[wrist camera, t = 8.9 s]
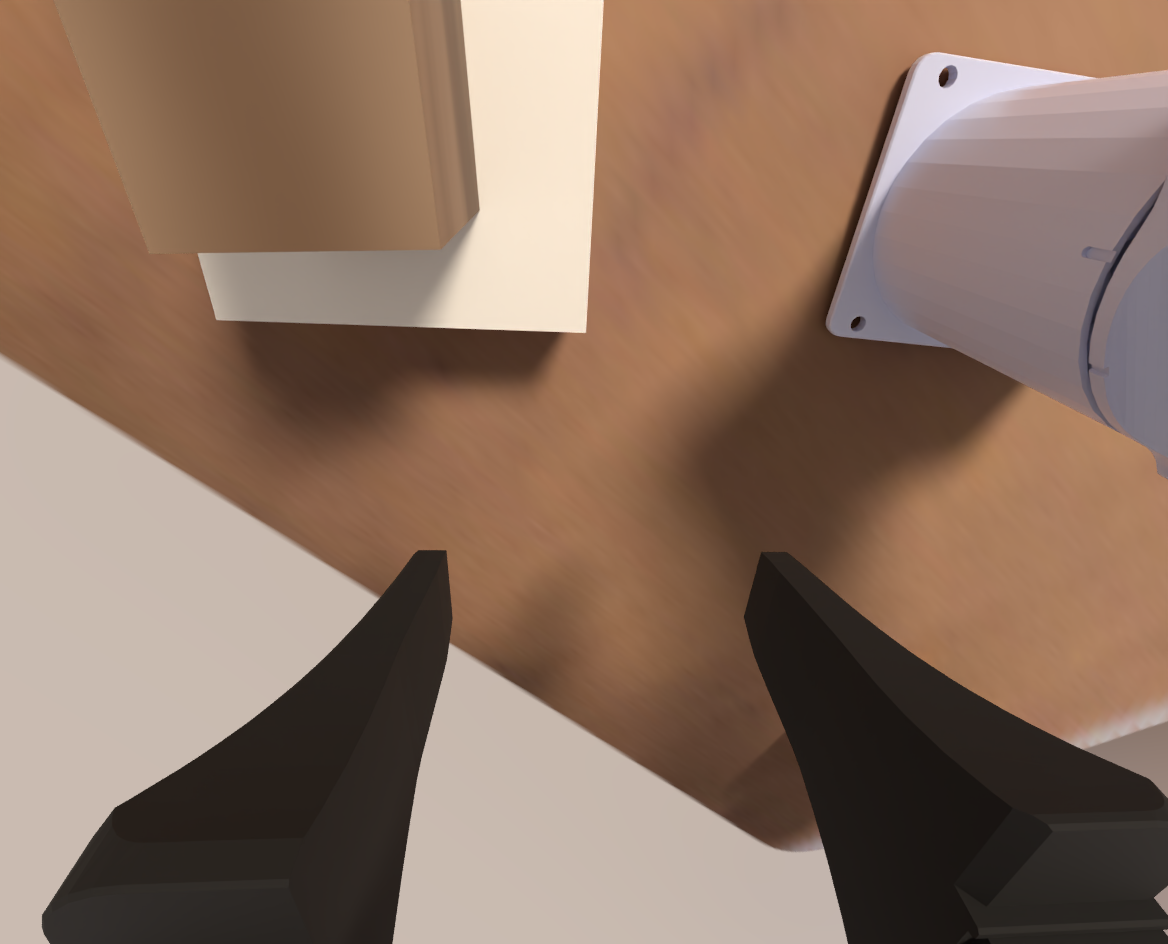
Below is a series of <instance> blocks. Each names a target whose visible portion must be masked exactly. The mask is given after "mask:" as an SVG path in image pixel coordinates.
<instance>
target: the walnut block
mask: <svg viewBox="0 0 1168 944" xmlns="http://www.w3.org/2000/svg"><path fill="white" fill-rule="evenodd" d="M54 3H55V6H56V8H57V11H58V14H59V16H60V19H61V22H62V24H63V27H64V30H65V32H66V35H67V37H68V40H69V43H70V45H71V48H72V51H73V53H74V56H75V59H76V61H77V64H78V67H79V69H80V72H81V74H82V77H83V80H84V82H85V85H86V88H87V90H88V93H89V96H90V98H91V101H92V104H93V106H94V109H95V111H96V114H97V117H98V119H99V122H100V125H101V127H102V130H103V133H104V135H105V138H106V140H107V143H108V146H109V148H110V151H111V154H112V156H113V159H114V162H115V164H116V167H117V170H118V172H119V175H120V177H121V180H122V183H123V185H124V188H125V191H126V193H127V196H128V199H129V201H130V204H131V207H132V209H133V212H134V214H135V217H136V220H137V222H138V225H139V228H140V230H141V233H142V236H143V238H144V241H145V244H146V246H147V249H148V251H149V254H182V253H250V252H318V251H387V250H441V249H442V248H443V247H444V246H445V245H446V244H447V243H448V242H449V241H450V240H451V239H452V238H453V237H454V236H455V235H456V234H457V233H458V232H459V231H460V230H461V229H462V228H463V227H464V226H465V225H466V224H467V223H468V222H469V221H470V220H471V219H472V218H473V217H474V216H475V215H476V214H477V212H478V211H479V210H480V207H479V196H478V185H477V174H476V163H475V152H474V141H473V130H472V119H471V108H470V97H469V86H468V75H467V64H466V53H465V42H464V31H463V20H462V10H461V0H54Z"/></svg>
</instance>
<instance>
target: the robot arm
mask: <svg viewBox="0 0 1168 944" xmlns="http://www.w3.org/2000/svg"><path fill="white" fill-rule="evenodd" d="M944 68H947V69H948V72H949V77H948V81H947V82H946V84H945V85H944V86H943V87H941V86H940V84H939V82H938V80H939V75H940V73H941V71H942V70H943V69H944ZM859 316H860V323H859V324H858V326H856V327H855V328H851V322H852V321H853V319H855V318H856V317H859ZM826 327H827V329H828V330H829V331H830V332H831V333H832V334H834V335H836V336H839V337H849V338H859V339H868V340H878V341H888V342H898V343H907V344H917V345H927V346H937V347H946V348H953V349H955V350H957V351H959V352H961V353H963V354H965V355H967V356H969V357H971V358H973V359H975V360H977V361H979V362H981V363H983V364H985V365H987V366H989V367H991V368H993V369H995V370H997V371H999V372H1001V373H1003V374H1005V375H1007V376H1009V377H1011V378H1013V379H1015V380H1016V381H1018V382H1020V383H1022V384H1024V385H1026V386H1028V387H1030V388H1032V389H1034V390H1036V391H1038V392H1040V393H1042V394H1044V395H1046V396H1048V397H1050V398H1052V399H1054V400H1056V401H1058V402H1060V403H1062V404H1064V405H1066V406H1068V407H1070V408H1072V409H1074V410H1076V411H1078V412H1080V413H1082V414H1084V415H1086V416H1088V417H1090V418H1092V419H1094V420H1096V421H1098V422H1100V423H1101V424H1103V425H1105V426H1107V427H1109V428H1111V429H1113V430H1115V431H1117V432H1119V433H1121V434H1123V435H1125V436H1127V437H1129V438H1131V439H1133V440H1134V441H1136V442H1138V443H1140V444H1142V445H1144V446H1145V447H1147V448H1148V449H1149V450H1150V451H1151V452H1152V454H1153V455H1154V457H1155V459H1156V463H1157V472H1158V474H1159V475H1161V476H1163V477H1165V478H1166V479H1168V70H1165V71H1156V72H1148V73H1139V74H1131V75H1122V76H1114V77H1105V78H1092V77H1086V76H1080V75H1074V74H1068V73H1062V72H1056V71H1050V70H1044V69H1037V68H1031V67H1025V66H1019V65H1013V64H1007V63H1001V62H995V61H989V60H982V59H976V58H970V57H964V56H958V55H952V54H946V53H940V52H936V53H929V54H925V55H923V56H921V57H919V58H918V59H917V60H916V61H915V62H914V63H913V64H912V66H911V68H910V70H909V72H908V74H907V77H906V80H905V83H904V86H903V89H902V92H901V95H900V98H899V101H898V105H897V108H896V111H895V114H894V117H893V120H892V123H891V126H890V129H889V132H888V135H887V138H886V141H885V144H884V147H883V150H882V153H881V156H880V159H879V162H878V165H877V168H876V171H875V174H874V177H873V180H872V183H871V186H870V189H869V192H868V195H867V198H866V201H865V204H864V207H863V210H862V213H861V216H860V219H859V222H858V225H857V228H856V231H855V234H854V237H853V240H852V243H851V246H850V249H849V252H848V255H847V258H846V261H845V264H844V267H843V270H842V273H841V276H840V279H839V282H838V285H837V288H836V291H835V294H834V297H833V300H832V303H831V306H830V309H829V312H828V315H827V318H826ZM744 619H745V623H746V627H747V631H748V635H749V639H750V642H751V646H752V649H753V653H754V656H755V659H756V662H757V664H758V667H759V669H760V672H761V674H762V676H763V679H764V681H765V684H766V686H767V688H768V691H769V693H770V696H771V698H772V700H773V703H774V705H775V707H776V710H777V712H778V715H779V717H780V719H781V722H782V724H783V726H784V729H785V731H786V733H787V736H788V738H789V741H790V743H791V745H792V748H793V750H794V753H795V756H796V758H797V761H798V764H799V766H800V769H801V773H802V776H803V779H804V782H805V785H806V789H807V792H808V795H809V798H810V802H811V805H812V808H813V811H814V815H815V818H816V822H817V825H818V829H819V832H820V836H821V839H822V843H823V846H824V850H825V853H826V857H827V860H828V864H829V868H830V872H831V876H832V880H833V884H834V888H835V891H836V896H837V899H838V903H839V907H840V911H841V915H842V919H843V923H844V928H845V932H846V937H847V941H848V944H1168V936H1167V935H1166V934H1165V932H1164V931H1163V930H1164V929H1166V930H1167V929H1168V915H1167V914H1166V913H1165V911H1164V910H1163V909H1162V908H1161V906H1160V905H1159V904H1158V903H1157V901H1156V900H1155V899H1154V897H1155V896H1156V895H1157V894H1158V893H1159V892H1161V891H1162V890H1163V889H1164V888H1166V887H1167V886H1168V798H1167V797H1166V796H1165V795H1164V794H1163V793H1162V792H1161V791H1160V790H1159V789H1158V787H1157V786H1156V785H1155V784H1154V783H1153V782H1152V781H1151V780H1149V779H1148V778H1146V777H1143V776H1141V775H1139V774H1136V773H1134V772H1132V771H1130V770H1128V769H1125V768H1123V767H1121V766H1118V765H1116V764H1114V763H1112V762H1109V761H1107V760H1105V759H1102V758H1100V757H1098V756H1096V755H1093V754H1091V753H1089V752H1087V751H1084V750H1082V749H1080V748H1078V747H1076V746H1074V745H1071V744H1069V743H1067V742H1065V741H1063V740H1061V739H1059V738H1057V737H1055V736H1053V735H1051V734H1049V733H1047V732H1045V731H1043V730H1041V729H1039V728H1037V727H1035V726H1033V725H1031V724H1029V723H1027V722H1025V721H1024V720H1022V719H1020V718H1018V717H1016V716H1014V715H1012V714H1010V713H1009V712H1007V711H1005V710H1003V709H1001V708H1000V707H998V706H996V705H994V704H993V703H991V702H989V701H987V700H986V699H984V698H982V697H980V696H979V695H977V694H975V693H973V692H972V691H970V690H968V689H967V688H965V687H963V686H962V685H960V684H958V683H957V682H955V681H953V680H952V679H950V678H949V677H947V676H946V675H944V674H943V673H941V672H940V671H938V670H937V669H935V668H934V667H932V666H930V665H929V664H927V663H926V662H924V661H923V660H921V659H920V658H918V657H917V656H915V655H914V654H913V653H911V652H910V651H908V650H907V649H906V648H904V647H903V646H901V645H900V644H899V643H897V642H896V641H895V640H893V639H892V638H891V637H889V636H888V635H887V634H885V633H884V632H883V631H881V630H880V629H879V628H877V627H876V626H875V625H874V624H872V623H871V622H870V621H869V620H867V619H866V618H865V617H864V616H862V615H861V614H860V613H859V612H857V611H856V610H855V609H854V608H852V607H851V606H850V605H849V604H848V603H846V602H845V601H844V600H843V599H842V598H841V597H839V596H838V595H837V594H836V593H835V592H833V591H832V590H831V589H830V588H829V587H828V586H826V585H825V584H824V583H823V582H822V581H821V580H819V579H818V578H817V577H816V576H815V575H814V574H812V573H811V572H810V571H809V570H808V569H807V568H805V567H804V566H803V565H802V564H801V563H800V562H798V561H797V560H796V559H795V558H793V557H792V556H791V555H790V554H788V553H787V552H761V555H760V559H759V563H758V566H757V570H756V574H755V578H754V581H753V585H752V589H751V592H750V596H749V600H748V604H747V607H746V611H745V615H744ZM451 626H452V607H451V596H450V585H449V574H448V563H447V552H446V550H418V551H417V552H416V553H415V554H414V555H413V556H412V558H411V559H410V560H409V562H408V563H407V564H406V566H405V567H404V568H403V570H402V571H401V572H400V574H399V575H398V576H397V578H396V579H395V580H394V581H393V583H392V584H391V585H390V586H389V588H388V589H387V590H386V591H385V593H384V594H383V595H382V596H381V597H380V599H379V600H378V601H377V602H376V603H375V604H374V606H373V607H372V608H371V609H370V610H369V611H368V613H367V614H366V615H365V616H364V617H363V619H362V620H361V621H360V622H359V623H358V624H357V625H356V626H355V627H354V628H353V629H352V630H351V631H350V632H349V633H348V634H347V635H346V636H345V638H344V639H343V640H342V641H341V642H340V643H339V644H338V645H337V646H336V647H335V648H334V649H333V650H332V651H331V652H330V653H329V654H328V655H327V656H326V657H325V658H324V659H323V660H322V661H321V662H320V663H318V665H316V667H314V668H313V669H312V670H311V671H310V672H309V673H308V674H306V675H305V676H304V677H303V678H302V679H301V680H300V681H299V682H297V683H296V684H295V685H294V686H293V687H292V688H290V689H289V690H288V691H287V692H286V693H284V694H283V695H282V696H281V697H279V698H278V699H277V700H276V701H275V702H274V703H272V704H271V705H270V706H268V707H267V708H266V709H265V710H263V711H262V712H261V713H260V714H258V715H257V716H256V717H255V718H253V719H252V720H251V721H249V722H248V723H247V724H245V725H244V726H242V727H241V728H240V729H238V730H237V731H235V732H234V733H233V734H231V735H230V736H228V737H227V738H225V739H224V740H223V741H222V742H220V743H218V744H217V745H215V746H214V747H212V748H211V749H209V750H208V751H207V752H205V753H204V754H202V755H201V756H199V757H198V758H196V759H195V760H193V761H191V762H190V763H188V764H187V765H185V766H184V767H182V768H181V769H179V770H177V771H176V772H174V773H172V774H171V775H169V776H167V777H166V778H164V779H162V780H161V781H159V782H157V783H156V784H154V785H153V786H151V787H149V788H148V789H146V790H144V791H143V792H141V793H140V794H138V795H136V796H134V797H133V798H131V799H129V800H128V801H126V802H124V803H122V804H121V805H119V806H117V807H115V809H114V810H113V811H112V812H111V814H110V815H109V817H108V818H107V819H106V820H105V822H104V823H103V824H102V826H101V827H100V828H99V830H98V831H97V832H96V834H95V835H94V836H93V838H92V839H91V841H90V842H89V844H88V845H87V847H86V848H85V850H84V851H83V853H82V854H81V856H80V857H79V859H78V861H77V862H76V864H75V865H74V867H73V868H72V870H71V871H70V873H69V875H68V876H67V877H66V879H65V881H64V882H63V884H62V885H61V887H60V888H59V890H58V891H57V893H56V894H55V896H54V898H53V899H52V901H51V902H50V904H49V905H48V907H47V908H46V910H45V911H44V913H43V914H42V929H43V932H44V935H45V936H46V938H47V940H48V941H49V943H50V944H392V942H393V934H394V927H395V921H396V913H397V906H398V899H399V892H400V885H401V878H402V871H403V864H404V858H405V851H406V844H407V838H408V831H409V825H410V818H411V812H412V806H413V800H414V794H415V788H416V782H417V776H418V771H419V767H420V762H421V758H422V754H423V749H424V746H425V742H426V738H427V734H428V731H429V727H430V722H431V719H432V715H433V711H434V707H435V703H436V700H437V696H438V692H439V688H440V684H441V681H442V677H443V673H444V669H445V665H446V661H447V654H448V648H449V641H450V634H451Z"/></svg>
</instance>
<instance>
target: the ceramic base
mask: <svg viewBox="0 0 1168 944" xmlns="http://www.w3.org/2000/svg"><path fill="white" fill-rule="evenodd" d="M603 2H604V0H461V10H462V20H463V31H464V42H465V53H466V64H467V75H468V86H469V97H470V108H471V119H472V130H473V141H474V152H475V163H476V174H477V185H478V196H479V207H480V210H479V211H478V212H477V214H476V215H475V216H474V217H473V218H472V219H471V220H470V221H469V222H468V223H467V224H466V225H465V226H464V227H463V228H462V229H461V230H460V231H459V232H458V233H457V234H456V235H455V236H454V237H453V238H452V239H451V240H450V241H449V242H448V243H447V244H446V245H445V246H444V247H443V248H442V249H441V250H387V251H318V252H250V253H198V256H199V260H200V263H201V267H202V271H203V274H204V278H205V281H206V285H207V288H208V292H209V295H210V299H211V302H212V306H213V310H214V313H215V317H216V320H230V321H259V322H288V323H317V324H346V325H375V326H404V327H433V328H461V329H490V330H519V331H548V332H577V333H586V320H587V302H588V283H589V264H590V246H591V227H592V208H593V189H594V171H595V152H596V133H597V115H598V96H599V77H600V58H601V40H602V21H603Z"/></svg>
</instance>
